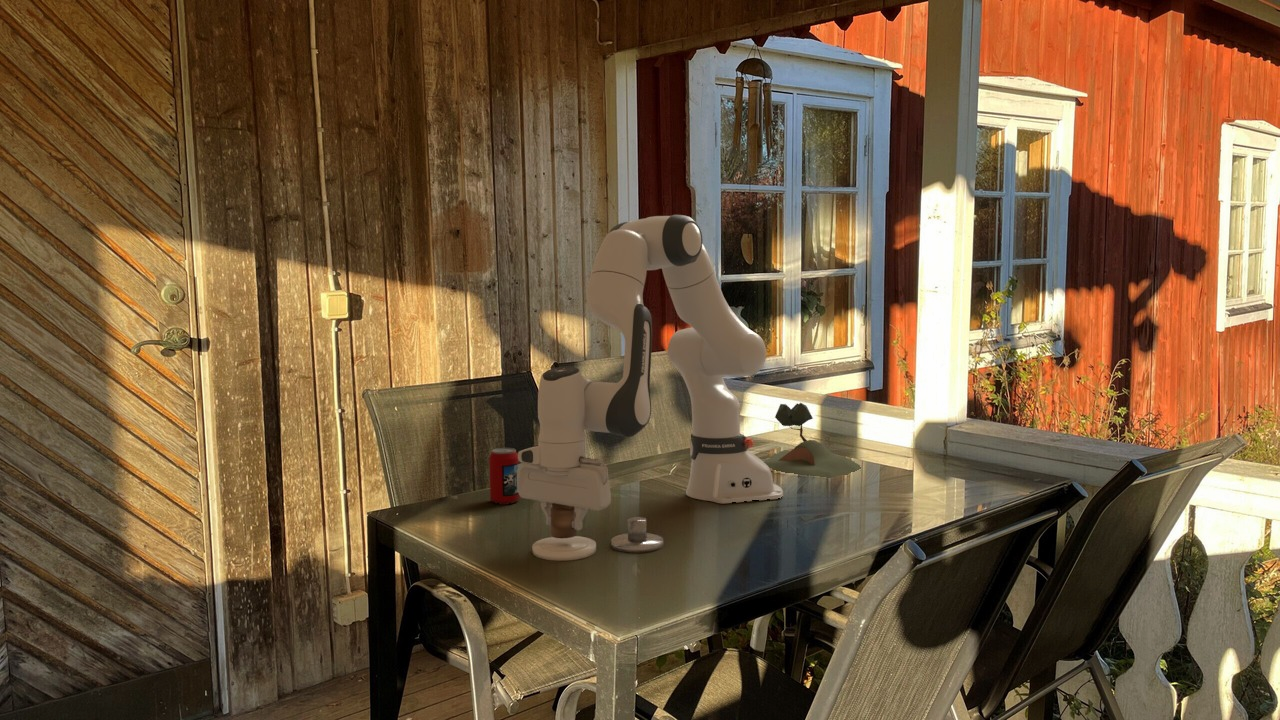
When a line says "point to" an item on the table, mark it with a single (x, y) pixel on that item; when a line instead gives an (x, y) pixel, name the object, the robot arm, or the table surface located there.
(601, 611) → the table surface
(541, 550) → the saucer
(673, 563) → the table surface
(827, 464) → the plant
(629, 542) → the pedestal
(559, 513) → the cap
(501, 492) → the beverage can
